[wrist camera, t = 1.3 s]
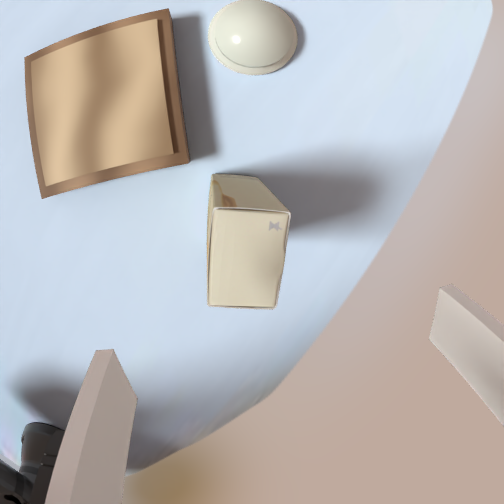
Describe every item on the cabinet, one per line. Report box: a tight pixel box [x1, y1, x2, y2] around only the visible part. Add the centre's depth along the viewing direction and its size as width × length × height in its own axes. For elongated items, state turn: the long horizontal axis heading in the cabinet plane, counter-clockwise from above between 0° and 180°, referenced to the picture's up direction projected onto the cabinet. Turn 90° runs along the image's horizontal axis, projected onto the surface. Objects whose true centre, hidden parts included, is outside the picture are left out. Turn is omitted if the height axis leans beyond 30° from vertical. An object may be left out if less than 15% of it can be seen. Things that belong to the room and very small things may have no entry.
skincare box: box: [207, 174, 291, 309], centre depth 23 cm, size 6×4×12 cm
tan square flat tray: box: [25, 8, 190, 199], centre depth 22 cm, size 14×14×3 cm
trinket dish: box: [208, 0, 297, 75], centre depth 22 cm, size 8×8×2 cm
